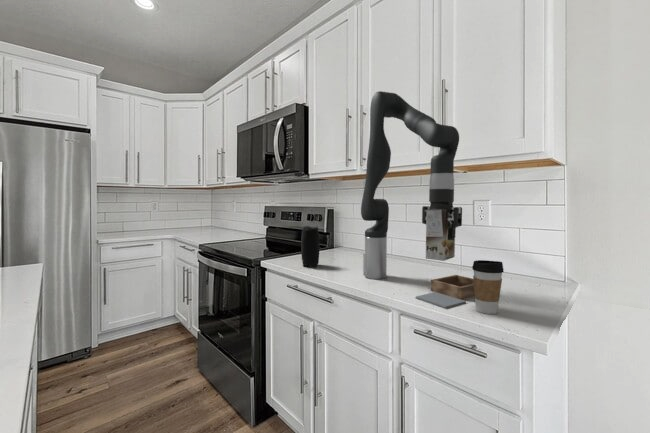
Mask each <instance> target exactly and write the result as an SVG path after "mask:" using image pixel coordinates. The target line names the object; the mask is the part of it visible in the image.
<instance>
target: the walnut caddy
mask: <svg viewBox="0 0 650 433" xmlns="http://www.w3.org/2000/svg"><path fill="white" fill-rule="evenodd" d="M430 291H431V292H432V293H433V292H437V293H441V294H444V295H447V296H450V297H454V298H457V299H460V300H465V299H469V298H472V297H474V298H475V292H474V279H473V278H471V277H468V276H464V275H459V274H453V275H449V276H445V277H444V276H443V277H439V278H433V279H430Z"/></svg>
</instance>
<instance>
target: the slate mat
mask: <svg viewBox="0 0 650 433" xmlns="http://www.w3.org/2000/svg"><path fill="white" fill-rule="evenodd" d="M415 299H417V300H419V301H422V302H425V303H428V304H431V305H433V306H437V307H440V308H442V309H445V310H446V309H448V308H452V307H455V306H456V307H457V306H460V305H464V304H466V303H467V302H466V300H465V299H462V300H460V299H457V298H454V297H450V296H447V295H444V294H441V293H437V292H433V291H432V292H429V293H423V294H421V295H416V296H415Z"/></svg>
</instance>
